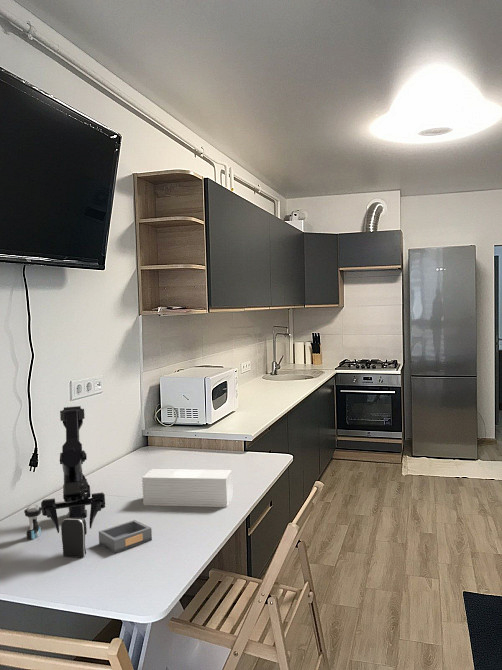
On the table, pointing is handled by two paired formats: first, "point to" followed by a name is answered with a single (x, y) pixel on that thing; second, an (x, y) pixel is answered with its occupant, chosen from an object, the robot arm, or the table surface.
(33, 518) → the push button
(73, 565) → the table surface
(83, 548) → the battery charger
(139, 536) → the tray
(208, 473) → the stack of papers
